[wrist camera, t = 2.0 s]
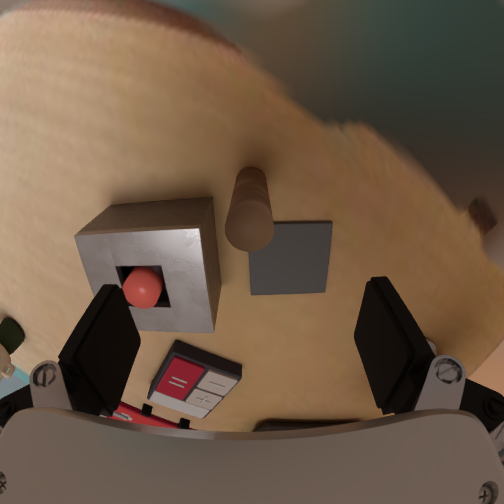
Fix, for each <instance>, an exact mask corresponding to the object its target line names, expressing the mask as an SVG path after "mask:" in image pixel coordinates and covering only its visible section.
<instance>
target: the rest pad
mask: <svg viewBox="0 0 504 504" xmlns="http://www.w3.org/2000/svg"><path fill="white" fill-rule="evenodd" d="M273 223H274V235H273V238H272V240H271V241H270V243H269V244H268V245H267V246H265V247H264V248H262V249H260V250H258V251H253V252H249V265H250V287H251V295H277V294H302V293H322V292H325V289H326V281H327V273H328V264H329V255H330V246H331V236H332V224H333V223H332V222H331V221H319V222H273Z"/></svg>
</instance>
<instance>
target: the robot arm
mask: <svg viewBox="0 0 504 504" xmlns="http://www.w3.org/2000/svg"><path fill="white" fill-rule="evenodd" d="M354 340H355V343H356V346H357V349H358V351H359V354H360V357H361V360H362V363H363V366H364V369H365V372H366V375H367V378H368V381H369V384H370V387H371V390H372V393H373V396H374V399H375V402H376V405H377V407H378V408H381V409H382V412H383V415H386V414H390V413H394V414H395V415H391V416H387V417H382V418H377V419H372V420H366V421H361V422H355V423H348V424H342V425H335V426H328V427H320V428H311V429H300V430H286V431H267V432H219V431H199V430H186V429H175V428H166V427H158V426H151V425H144V424H138V423H132V422H126V421H121V420H115V419H110V418H105V417H100V416H99V415H104V416H109V417H112V416H113V413H114V411H116V410H117V409H118V407H119V404H120V401H121V398H122V395H123V392H124V389H125V386H126V383H127V380H128V377H129V374H130V372H131V369H132V366H133V363H134V360H135V358H136V355H137V352H138V350H139V347H140V343H141V339H140V335H139V333H138V330H137V328H136V325H135V322H134V320H133V317H132V314H131V311H130V309H129V306H128V303H127V300H126V297H125V294H124V291H123V289H122V288H120V287H119V286H118V285H117V284H103V285H102V287H101V288H100V290H99V291H98V293H97V294H96V296H95V297H94V299H93V300H92V302H91V303H90V305H89V306H88V308H87V309H86V311H85V313H84V314H83V316H82V317H81V319H80V320H79V322H78V324H77V325H76V327H75V329H74V330H73V332H72V334H71V335H70V337H69V339H68V340H67V342H66V344H65V345H64V347H63V349H62V351H61V352H60V354H59V356H58V358H59V359H60V360H59V362H58V364H57V363H56V362H54V361H52V360H47V361H43V362H41V363H39V364H38V365H37V366H36V367H34V369H33V370H32V372H31V374H30V380H29V382H30V384H29V385H27V386H25V387H23V388H21V389H19V390H17V391H15V392H13V393H11V394H9V395H7V396H5V397H3V398H2V399H1V400H0V504H504V397H503V396H502V395H501V394H500V393H498V392H496V391H494V390H491V389H489V388H487V387H485V386H482V385H480V384H478V383H476V382H473V381H471V380H469V379H467V378H466V371H465V367H464V366H463V364H462V363H461V362H460V361H459V360H458V359H457V358H455V357H453V356H449V355H440V356H437V357H436V347H435V345H434V343H433V342H432V341H431V340H429V339H426V338H425V336H424V335H423V333H422V331H421V329H420V328H419V326H418V324H417V323H416V321H415V319H414V318H413V316H412V314H411V313H410V311H409V310H408V308H407V307H406V305H405V304H404V302H403V300H402V299H401V297H400V296H399V294H398V293H397V291H396V290H395V288H394V287H393V285H392V283H391V282H390V280H389V279H388V278H387V277H386V276H382V277H372V278H371V280H370V281H368V282H367V283H366V287H365V291H364V296H363V300H362V304H361V308H360V312H359V316H358V320H357V324H356V328H355V332H354Z"/></svg>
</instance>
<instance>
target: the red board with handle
mask: <svg viewBox="0 0 504 504" xmlns="http://www.w3.org/2000/svg"><path fill="white" fill-rule="evenodd" d="M152 408H153V407H152V406H150V405H147V404H145V403H144V404H143V407H142V410H140V409H137V408H135V407H132V406H130V405H128V404H125V403H123V402H121V401H120V404H119V407H118V409H117V410H116V411H114V413H113V416H112V417H109V416H106V417H107V418H110V419H115V420H121V421H126V422H132V423H138V424H144V425H151V426H158V427H166V428H175V429H186V430H195V429H192V428H189V424H190V420H187V419H184V418H181V419H180V423H178V424H177V423H174V422H171V421H169V420H166V419H163V418H160V417H158V416H155V415H152V414H151V412H152Z"/></svg>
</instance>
